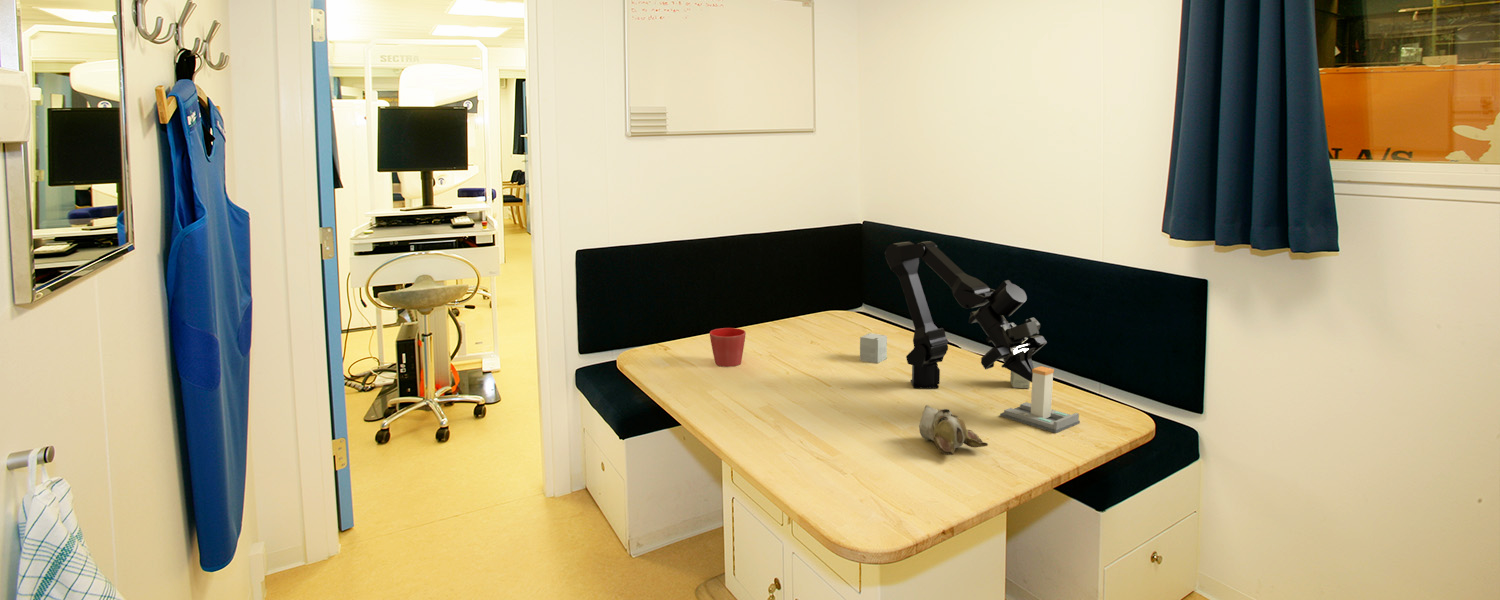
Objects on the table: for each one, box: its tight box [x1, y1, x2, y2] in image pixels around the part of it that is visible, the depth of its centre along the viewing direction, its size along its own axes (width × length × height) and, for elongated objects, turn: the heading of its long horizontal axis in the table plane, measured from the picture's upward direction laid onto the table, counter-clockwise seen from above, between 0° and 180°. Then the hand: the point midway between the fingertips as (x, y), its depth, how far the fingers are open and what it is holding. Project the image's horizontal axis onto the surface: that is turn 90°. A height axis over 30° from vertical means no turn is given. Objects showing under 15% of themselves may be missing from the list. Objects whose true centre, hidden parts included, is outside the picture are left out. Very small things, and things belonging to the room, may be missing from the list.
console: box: [999, 401, 1081, 434], centre depth 187 cm, size 15×10×2 cm, turn 37°
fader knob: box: [1030, 365, 1055, 418], centre depth 185 cm, size 3×3×11 cm
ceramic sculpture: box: [918, 404, 989, 456], centre depth 172 cm, size 11×9×15 cm
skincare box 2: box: [1010, 337, 1031, 389], centre depth 211 cm, size 6×4×12 cm
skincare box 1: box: [859, 332, 888, 364], centre depth 238 cm, size 6×6×7 cm
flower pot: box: [709, 327, 747, 368], centre depth 237 cm, size 11×11×10 cm
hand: (1035, 381), depth 186 cm, fingers closed, pressing on fader knob
